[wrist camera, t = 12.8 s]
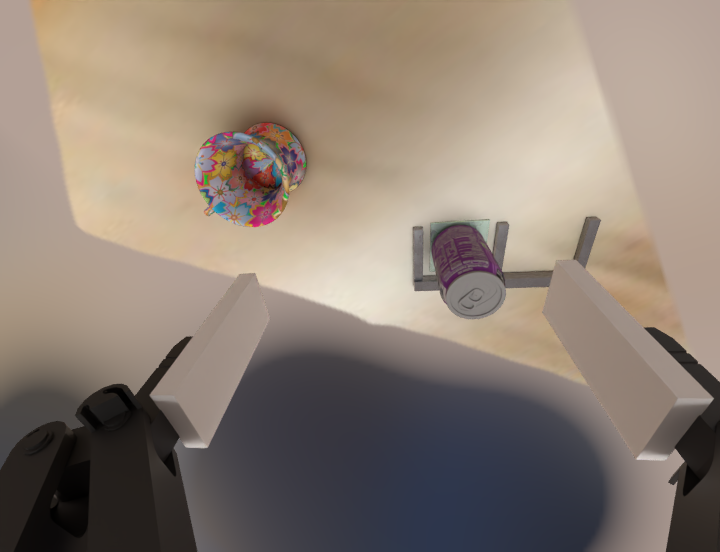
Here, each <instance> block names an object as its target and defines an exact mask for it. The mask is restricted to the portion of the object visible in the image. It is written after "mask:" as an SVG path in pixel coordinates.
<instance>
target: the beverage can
mask: <svg viewBox="0 0 720 552" xmlns="http://www.w3.org/2000/svg"><path fill="white" fill-rule="evenodd" d="M431 251H432V258H433V262H434V267H435V272H436V276H437V281H438V286H439V290H440V295H441V297H442V299H443V301H444V302H445V303H446V304H447V305H448V308H449V309H450V310H451V311H452V312H453V313H454V314H455V315H457V316H459V317H462V318H465V319H480V318H484V317H487V316H489V315H491V314H493V313H494V312H496V311H497V310H498V309H499V308H500V307H501V306H502V304H503V302H504V300H505V297H506V289H505V277H504V274H503V272H502V271H501V269H500V267H499V265H498V263H497V262H496V260H495V258H494V256H493V254H492V252H491V251H490V249H489V247H488V245H487V243H486V242H485V240H484V238H483V236H482V235H481V233H480V232H479V231H477V230H476V229H474V228H472V227H470V226H465V225H457V226H452V227H450V228H447V229H445V230H444V231H442V232H441V233H440V234H439V235H438V236H437V237H436V239H435V240H434V242H433V245H432V250H431Z"/></svg>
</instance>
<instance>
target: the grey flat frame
mask: <svg viewBox="0 0 720 552" xmlns="http://www.w3.org/2000/svg"><path fill="white" fill-rule="evenodd" d="M600 221H601V220H600V219H599V218H597V217H586V221H585V224H584V227H583V231H582V234H581V237H580V241H579V244H578V247H577V250H576V254H575V257H574V260H577V261H578V262H579V263H580V264H581V265H582V266H583V267H584V268H585V267H586V264H587V261H588V258H589V255H590V252H591V248H592V245H593V242H594V239H595V236H596V233H597V230H598V227H599V224H600ZM489 222H490V220H489V219H488V220H471V221H454V222H437V223H431V230H430V272H435V267H434V262H433V258H432V251H431V250H432V245H433V242H434V240H435V239H436V237H437V236H438V235H439V234H440V233H441V232H442V231H444V230H445V229H447V228H450V227H452V226H457V225H465V226H470V227H472V228H474V229H476V230H477V231H479V232H480V233H481V235H482V236H483V238H484V240H485V242H486V243H487V238H488V230H489ZM413 228H414V290H415V291H435V290H439V286H438V281H437V276H423V227H413ZM508 229H509V224H508V223H507V222H497V228H496V235H495V242H494V249H493V256H494V258H495V260H496V262H497V263H498V265H499V267H500V269H501V271H502V265H503V259H504V253H505V247H506V241H507V235H508ZM503 274H504V277H505V288H526V287H549V286H550V282H551V278H552V274H553V271H540V272H514V273H503Z"/></svg>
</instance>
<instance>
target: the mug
mask: <svg viewBox="0 0 720 552" xmlns="http://www.w3.org/2000/svg"><path fill="white" fill-rule="evenodd" d="M305 171H306V158H305V153H304V150H303V148H302V146H301V144H300V142H299V141H298V140H297V138H296V137H295V136H294V135H293V134H292V133H291V132H290V131H288V130H287V129H285V128H284V127H282V126H279V125H276V124H273V123H260V124H257V125H254V126H252V127H251V128H249V129H248V130H247V131H246V132H245V133H240V132H224V133H220V134H217V135H215V136H213V137H211V138H210V139H208V140H207V141H206V142H205V143H204V144H203V145H202V147H201V148H200V150H199V152H198V154H197V157H196V161H195V177H196V182H197V185H198V188H199V190H200V193H201V194H202V196H203V198H204V199H205V201H206V202H207V204H208V205H209V207H208V208H207V209H206V210H205V211H204V213H205V214H206V215H207V216H210V215H211V214H213V213H214V212H216V213H217V214H218V215H220V216H221V217H223V218H224V219H226V220H228V221H230V222H232V223H234V224H237V225H240V226H246V227H258V226H263V225H266V224H269V223H271V222H272V221H274V220H275V219H277V218H278V217H279V216H280V215H281V213H282V212H283V210H284V209H285V207H286V205H287V201H288V197H289V192H291V191H293V190H294V189H295V188H297V187H298V186H299V184H300V183H301V182H302V180H303V178H304V175H305Z"/></svg>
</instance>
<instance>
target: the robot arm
mask: <svg viewBox="0 0 720 552" xmlns="http://www.w3.org/2000/svg"><path fill="white" fill-rule="evenodd" d="M542 313H543V314H544V316H545V317H546V319H547V320H548V322H549V324H550V325H551V327H552V328H553V330H554V331H555V333H556V335H557V336H558V338H559V339H560V341H561V342H562V344H563V346H564V347H565V349H566V350H567V352H568V353H569V355H570V357H571V358H572V360H573V361H574V363H575V365H576V366H577V368H578V369H579V371H580V372H581V374H582V376H583V377H584V379H585V380H586V382H587V383H588V385H589V387H590V388H591V390H592V391H593V393H594V394H595V396H596V398H597V399H598V401H599V402H600V404H601V405H602V407H603V409H604V410H605V412H606V413H607V415H608V416H609V418H610V420H611V421H612V423H613V424H614V425H615V427H616V429H617V431H618V432H619V434H620V435H621V437H622V438H623V440H624V442H625V443H626V445H627V446H628V448H629V449H630V451H631V453H632V454H633V456H634V457H635V459H636V460H666V459H667V458H668V457H669V455H670V454H671V452H673V450H674V449H676V450H677V451H678V452H679V454H680V455H681V457H682V458H683V459H684V460H685V462H684V463H683V464H682V465H681V466H680V468H679V469H678V470H677V471H676V472H675V473H674V475H673V476H672V477H671V479H670V480H669V483H670V484H672V485H674V484H675V483H676V482H677V480H678V483H677V489H676V495H675V500H674V506H673V513H672V518H671V525H670V531H669V536H668V542H667V548H666V552H720V382H719V381H718V380H717V379H716V378H715V377H714V376H713V375H711V374H710V373H709V372H708V371H707V370H706V369H705V368H704V367H703V366H702V365H700V364H698V361H697V360H696V359H694V358H693V357H692V356H691V355H690V354H689V353H686V350H685V349H684V348H683V347H682V346H681V345H680V344H678V343H677V342H676V341H675V340H674V339H673V338H672V337H670V336H668V335H667V334H665V333H663V332H661V331H660V330H658V329H656V328H655V327H647V328H643V327H642V326H641V325H640V324H639V323H638V322H637V321H636V320H635V319H634V318H633V317H632V316H631V315H630V314H629V313H628V312H627V311H626V310H625V309H624V308H623V307H622V306H621V305H620V304H619V303H618V302H617V301H616V300H615V298H614V297H613V296H612V295H611V294H610V293H609V292H608V291H607V290H606V289H605V288H604V287H603V286H602V285H601V284H600V283H599V282H598V281H597V280H596V279H595V278H594V277H593V276H592V275H591V274H590V273H589V272H588V271H587V270H586V269H585V268H584V267H583V266H582V265H581V264H580V263H579V262H578V261H577V260H558V261H556V263H555V267H554V271H553V274H552V278H551V282H550V286H549V289H548V293H547V297H546V300H545V304H544V308H543V312H542ZM269 320H270V317H269V314H268V311H267V308H266V305H265V302H264V298H263V295H262V292H261V289H260V286H259V283H258V280H257V277H256V274H255V273H249V274H239V276H238V277H237V278H236V280H235V281H234V282H233V284H232V285H231V286H230V288H229V289H228V290H227V292H226V293H225V295H224V296H223V297H222V298H221V300H220V301H219V303H218V304H217V305H216V307H215V308H214V309H213V311H212V312H211V313H210V315H209V316H208V317H207V319H206V320H205V321H204V323H203V324H202V325H201V327H200V328H199V330H198V331H197V332H196V333H195V335H194V336H192V337H185V338H184V339H183V340H181V341H180V342H179V343H178V344H176V345H175V346H174V347H173V348H172V349H171V351H170V352H169V353H168V355H167V356H166V359H164V360H163V361H162V362H161V364H160V365H159V368H157V369H156V370H155V371H154V372H153V374H152V375H151V376H150V378H149V379H148V380H147V382H145V384H144V385H143V386H142V388H141V389H140V390H139V392H138V393H137V394H136V395H135V396H134V394H133V393H132V392H131V390H130V389H129V388H128V386H127V385H124V384H113V385H110V386H107V387H104V388H102V389H100V390H98V391H97V392H95V393H93V394H92V395H91V396H89V397H88V398H87V399H86V400H85V401H84V402H83V403H82V404H81V405H80V407H79V408H78V409H77V412H76V415H75V416H76V417H77V418H78V420H79V421H80V422H81V423H82V424H83V425H84V426H83V427H80V428H76V429H73V430H71V429H70V428H69V427H68V426H67V425H66V424H65V423H64V422H60V421H55V422H50V423H47V424H45V425H42V426H40V427H38V428H36V429H35V430H33V431H31V432H30V433H28V434H27V435H26V436H25V437H24V438H23V439H21V440H20V441H19V442H18V443H17V444H16V445H15V447H14V448H13V449H12V451H11V452H10V454H9V456H8V457H7V459H6V461H5V463H4V465H3V466H2V468H1V470H0V552H197V547H196V542H195V538H194V533H193V528H192V524H191V519H190V514H189V509H188V505H187V500H186V495H185V490H184V486H183V481H182V476H181V472H180V467H179V462H178V457H177V453H176V452H175V450H174V446H175V444H176V442H177V440H178V439H179V438H180V439H181V441H182V442H183V444H184V445H185V447H188V448H207V447H208V446H209V443H210V441H211V439H212V437H213V435H214V433H215V431H216V429H217V427H218V425H219V423H220V421H221V419H222V417H223V415H224V413H225V411H226V409H227V407H228V404H229V402H230V400H231V398H232V396H233V394H234V392H235V390H236V388H237V386H238V384H239V382H240V380H241V378H242V376H243V374H244V372H245V369H246V367H247V365H248V363H249V361H250V359H251V357H252V355H253V353H254V351H255V349H256V347H257V345H258V343H259V340H260V338H261V337H262V334H263V332H264V330H265V328H266V326H267V324H268V322H269Z"/></svg>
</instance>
